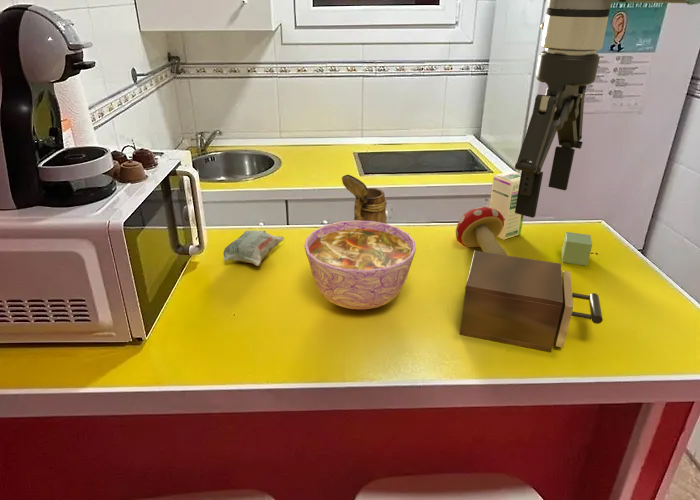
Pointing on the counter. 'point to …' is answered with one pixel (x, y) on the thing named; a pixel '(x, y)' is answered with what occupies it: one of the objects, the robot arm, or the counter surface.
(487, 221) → the decorative mushroom
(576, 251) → the block
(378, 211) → the wooden mug
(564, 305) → the drawer
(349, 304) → the bowl of food
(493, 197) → the syrup box
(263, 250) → the packaged food
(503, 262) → the cabinet
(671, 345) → the counter surface
